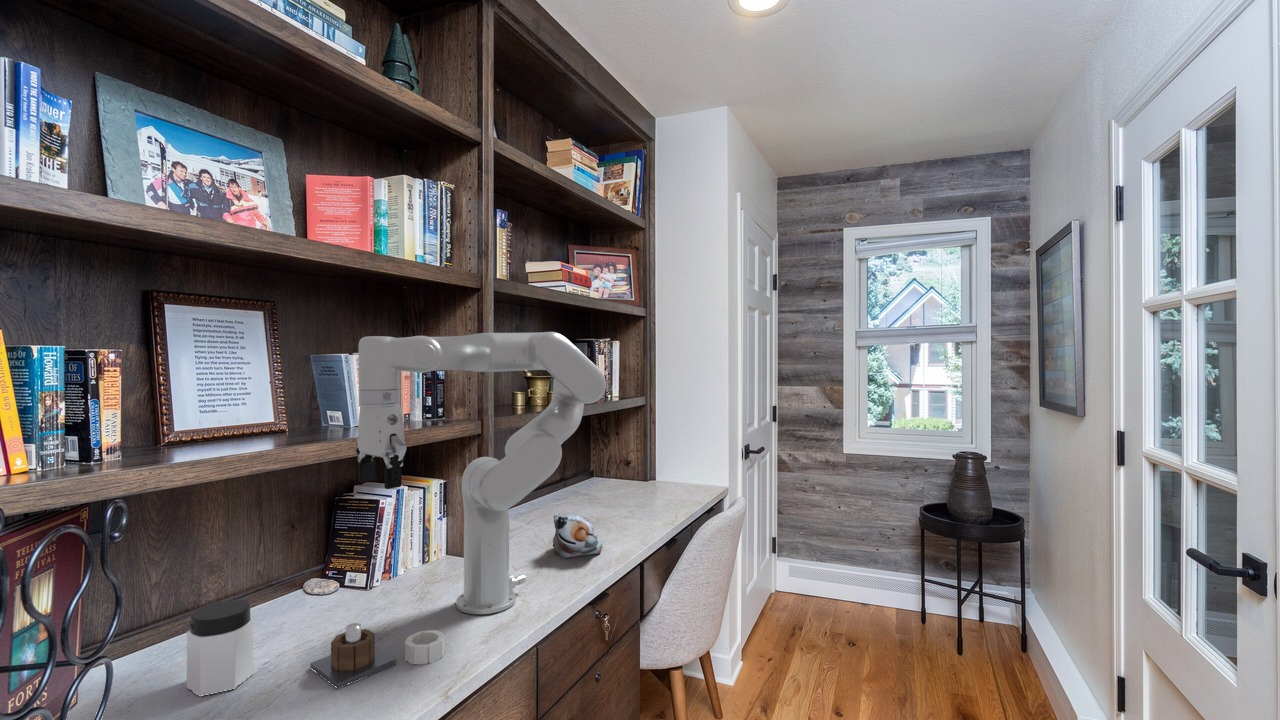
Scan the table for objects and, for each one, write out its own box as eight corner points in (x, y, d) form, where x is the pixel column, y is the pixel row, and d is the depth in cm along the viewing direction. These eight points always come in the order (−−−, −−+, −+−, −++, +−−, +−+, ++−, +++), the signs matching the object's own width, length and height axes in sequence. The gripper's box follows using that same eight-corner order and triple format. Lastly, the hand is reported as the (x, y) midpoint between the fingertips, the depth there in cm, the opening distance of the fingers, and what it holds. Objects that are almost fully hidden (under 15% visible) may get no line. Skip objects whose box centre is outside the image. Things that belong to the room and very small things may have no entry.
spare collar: (430, 643, 112) (430, 627, 112) (451, 653, 108) (451, 637, 108) (398, 656, 107) (399, 639, 107) (418, 668, 103) (418, 650, 103)
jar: (215, 667, 103) (215, 598, 102) (262, 668, 102) (262, 598, 102) (174, 697, 94) (174, 621, 94) (226, 698, 94) (226, 621, 93)
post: (367, 646, 110) (367, 608, 110) (395, 664, 104) (396, 624, 104) (310, 668, 102) (310, 628, 102) (337, 689, 96) (337, 646, 96)
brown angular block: (362, 648, 108) (362, 626, 108) (380, 659, 104) (380, 636, 104) (325, 662, 103) (325, 639, 103) (343, 674, 99) (343, 650, 99)
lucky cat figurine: (612, 549, 166) (612, 512, 159) (584, 578, 157) (584, 540, 150) (570, 526, 173) (569, 490, 166) (542, 552, 164) (539, 515, 157)
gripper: (421, 399, 116) (421, 487, 116) (375, 395, 127) (375, 475, 127) (384, 401, 110) (385, 494, 110) (339, 397, 121) (339, 481, 121)
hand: (379, 484), depth 119 cm, fingers open, 9 cm apart
